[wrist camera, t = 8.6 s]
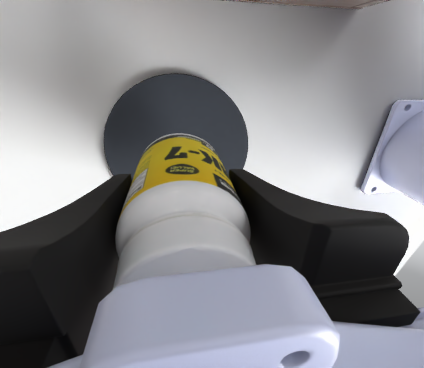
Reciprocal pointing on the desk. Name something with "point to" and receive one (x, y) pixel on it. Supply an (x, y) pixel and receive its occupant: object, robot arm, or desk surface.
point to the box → (321, 3)
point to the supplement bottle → (180, 214)
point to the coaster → (173, 120)
